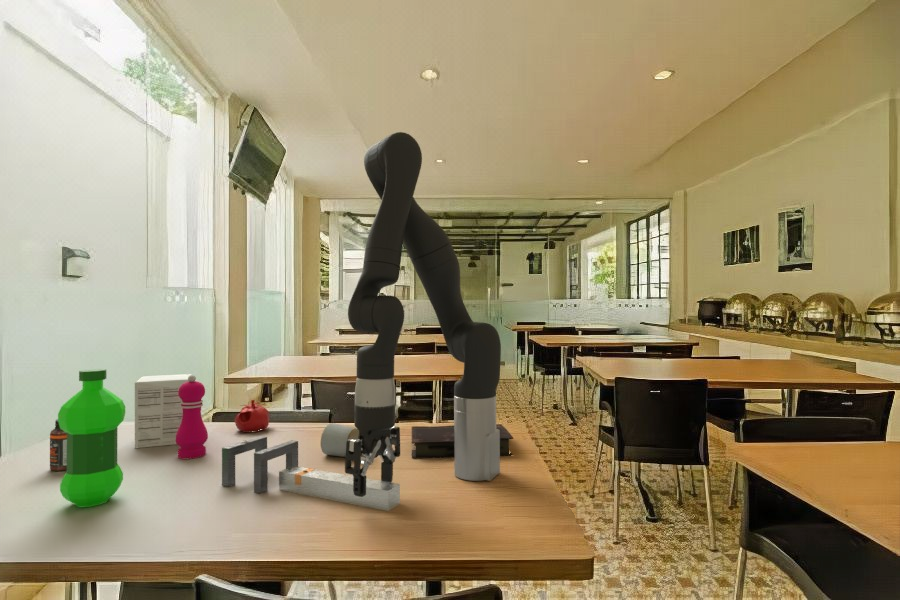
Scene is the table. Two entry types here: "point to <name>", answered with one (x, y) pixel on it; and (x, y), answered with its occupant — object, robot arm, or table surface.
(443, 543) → the table surface
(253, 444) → the collar
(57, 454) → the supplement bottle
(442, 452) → the diary
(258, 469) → the collar
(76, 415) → the plastic bottle
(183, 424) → the pepper mill
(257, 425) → the pomegranate
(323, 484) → the orange banded bar
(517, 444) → the table surface
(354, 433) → the ceramic mug
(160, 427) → the supplement box
